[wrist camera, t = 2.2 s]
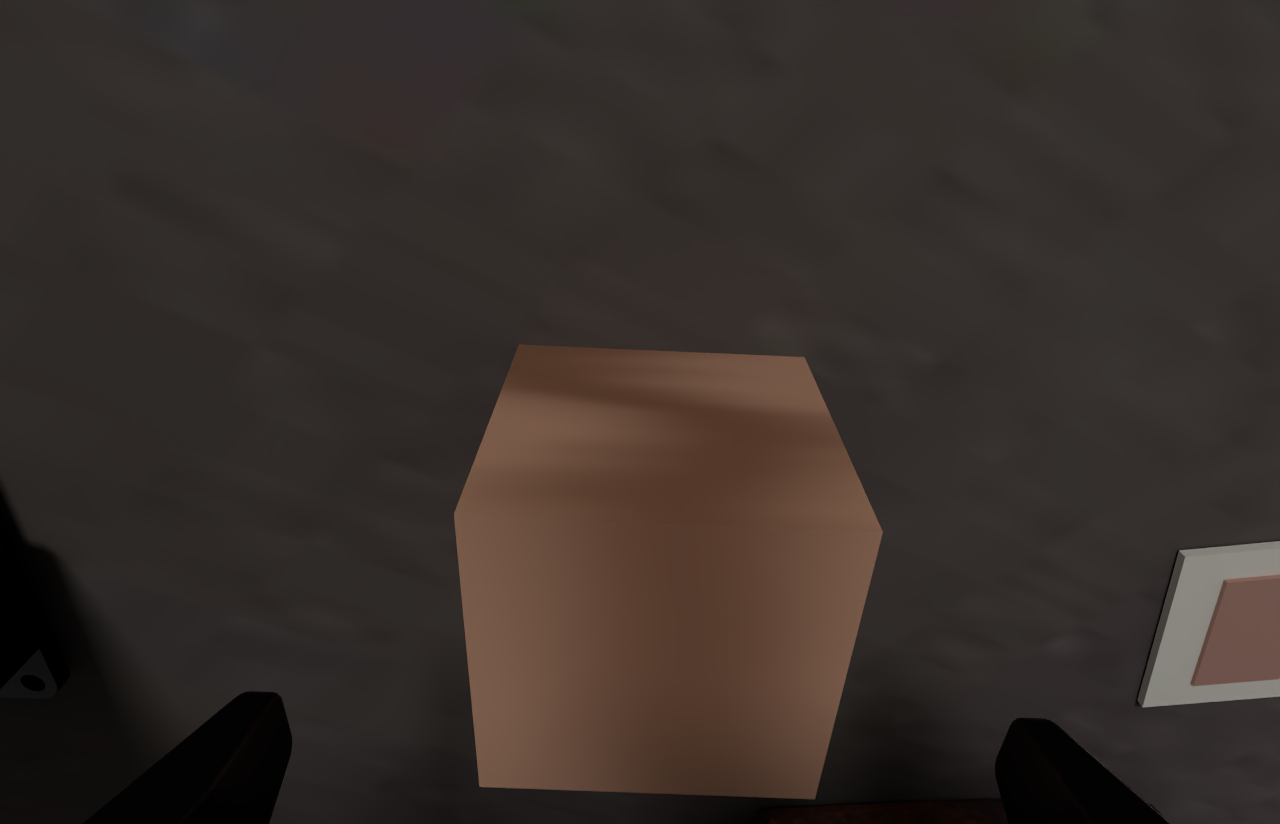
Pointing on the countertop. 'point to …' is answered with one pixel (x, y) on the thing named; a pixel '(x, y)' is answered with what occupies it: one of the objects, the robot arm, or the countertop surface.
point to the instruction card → (1218, 628)
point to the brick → (892, 813)
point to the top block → (660, 574)
